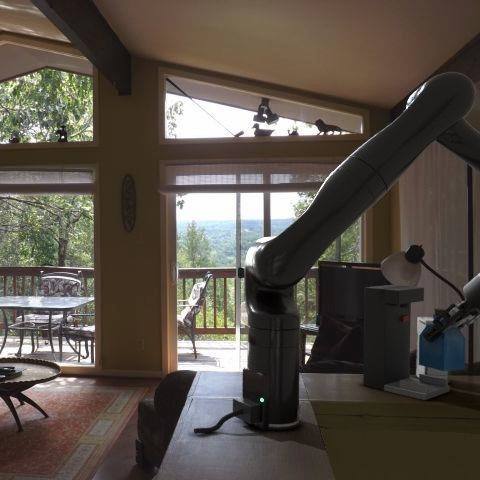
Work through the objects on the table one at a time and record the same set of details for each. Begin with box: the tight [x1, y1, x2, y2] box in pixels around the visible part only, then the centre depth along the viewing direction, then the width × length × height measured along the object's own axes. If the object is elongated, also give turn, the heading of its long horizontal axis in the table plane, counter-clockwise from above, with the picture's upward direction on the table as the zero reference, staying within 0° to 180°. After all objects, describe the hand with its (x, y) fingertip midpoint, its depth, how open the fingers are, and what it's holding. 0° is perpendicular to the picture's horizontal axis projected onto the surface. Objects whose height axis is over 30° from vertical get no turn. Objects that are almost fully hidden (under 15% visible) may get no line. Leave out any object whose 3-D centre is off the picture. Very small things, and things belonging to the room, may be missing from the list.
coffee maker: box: [362, 284, 451, 401], centre depth 126 cm, size 11×14×22 cm
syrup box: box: [415, 316, 451, 384], centre depth 134 cm, size 6×6×14 cm
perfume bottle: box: [419, 307, 467, 372], centre depth 120 cm, size 6×6×12 cm
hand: (435, 336), depth 121 cm, fingers closed on perfume bottle, 7 cm apart
